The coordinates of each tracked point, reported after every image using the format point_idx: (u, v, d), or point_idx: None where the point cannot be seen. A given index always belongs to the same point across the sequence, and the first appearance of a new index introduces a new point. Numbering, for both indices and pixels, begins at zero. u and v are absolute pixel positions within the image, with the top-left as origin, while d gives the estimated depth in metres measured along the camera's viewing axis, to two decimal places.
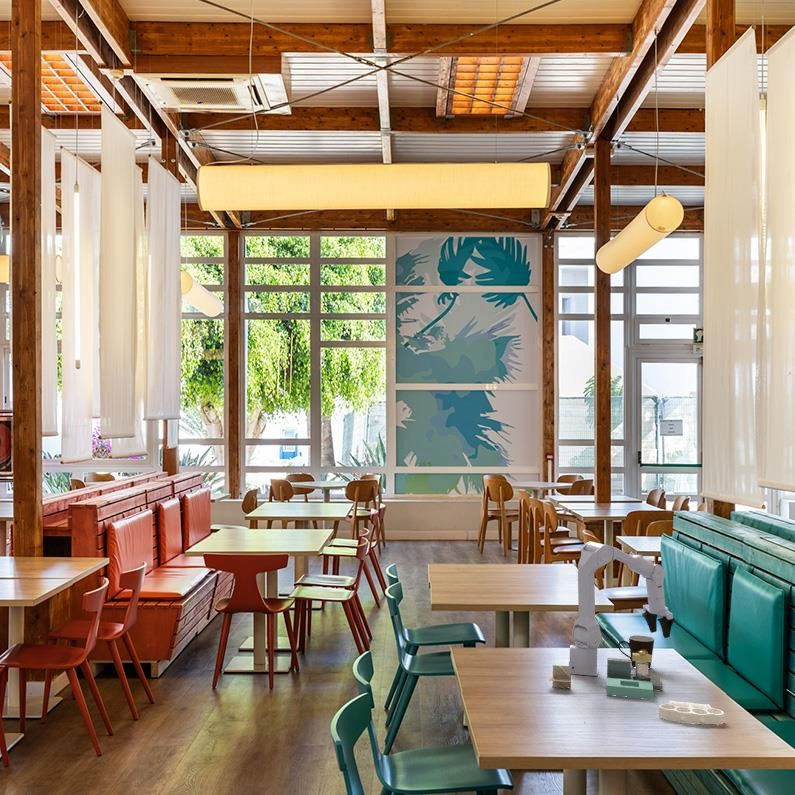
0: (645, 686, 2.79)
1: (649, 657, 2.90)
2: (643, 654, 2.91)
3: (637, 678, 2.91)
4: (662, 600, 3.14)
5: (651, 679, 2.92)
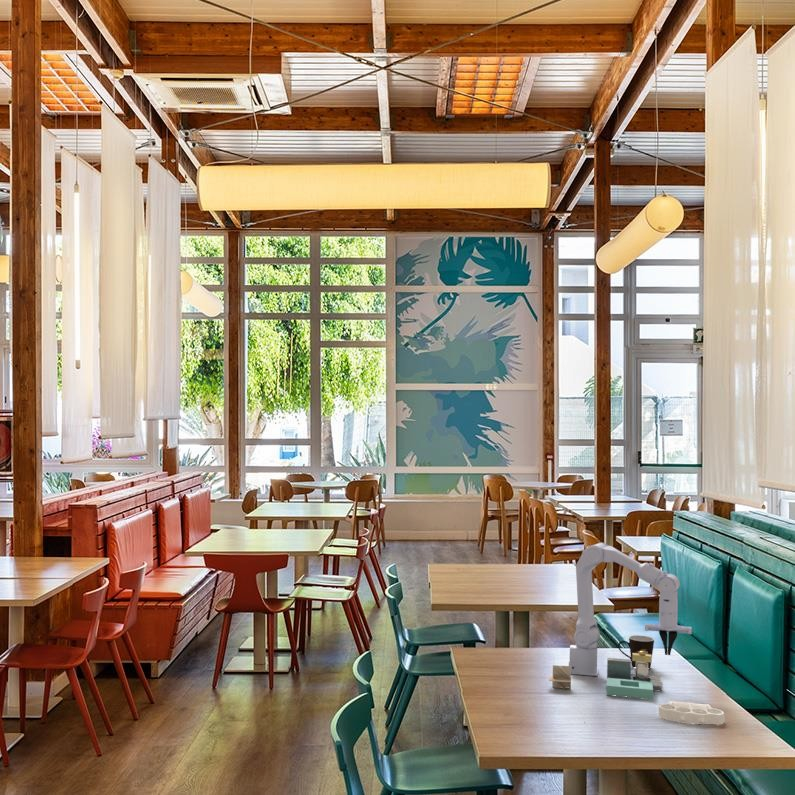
0: (645, 686, 2.79)
1: (649, 657, 2.90)
2: (643, 654, 2.91)
3: (637, 678, 2.91)
4: (659, 614, 2.90)
5: (651, 679, 2.92)
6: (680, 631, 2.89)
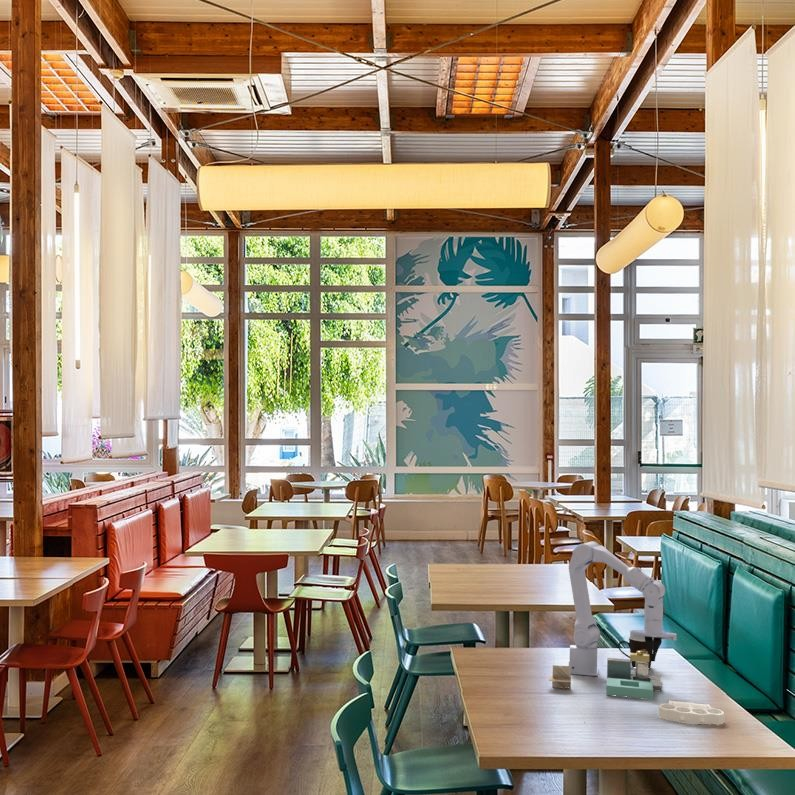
0: (645, 686, 2.79)
1: (647, 657, 2.90)
2: (641, 654, 2.91)
3: (637, 678, 2.91)
4: (644, 620, 2.91)
5: (651, 679, 2.92)
6: (665, 637, 2.90)
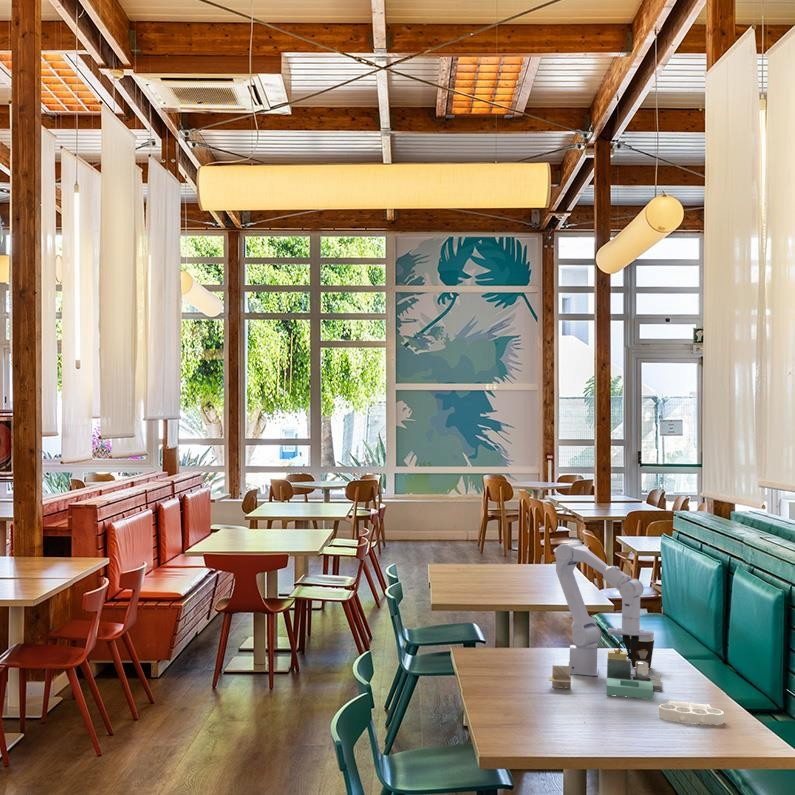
0: (645, 686, 2.79)
1: (624, 655, 2.92)
2: (618, 652, 2.93)
3: (637, 678, 2.91)
4: (622, 619, 2.93)
5: (651, 679, 2.92)
6: (642, 635, 2.92)
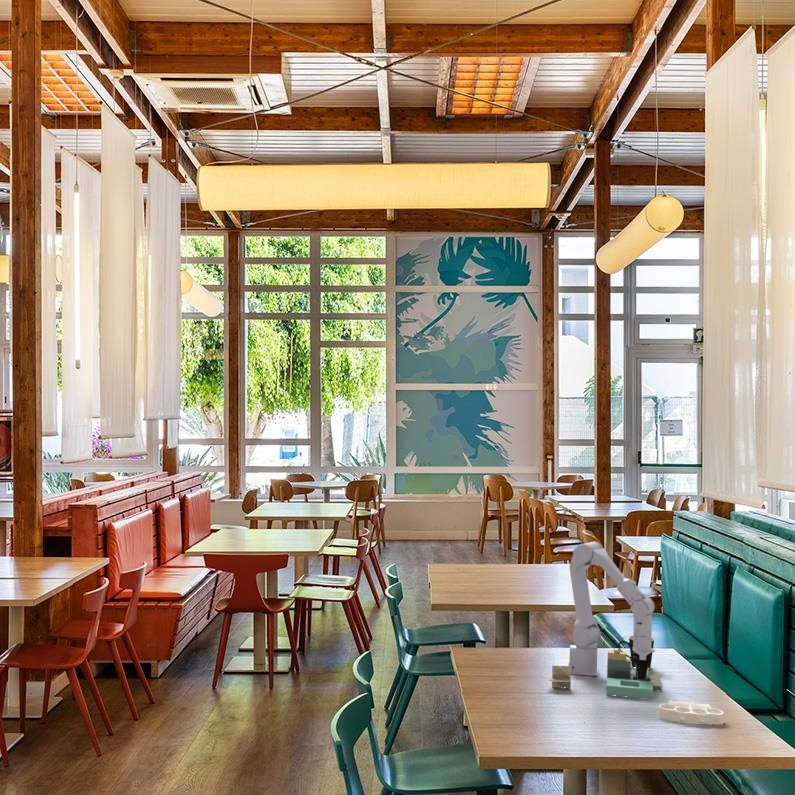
0: (645, 686, 2.79)
1: (624, 655, 2.92)
2: (618, 652, 2.93)
3: (637, 678, 2.91)
4: (644, 639, 2.89)
5: (651, 679, 2.92)
6: None
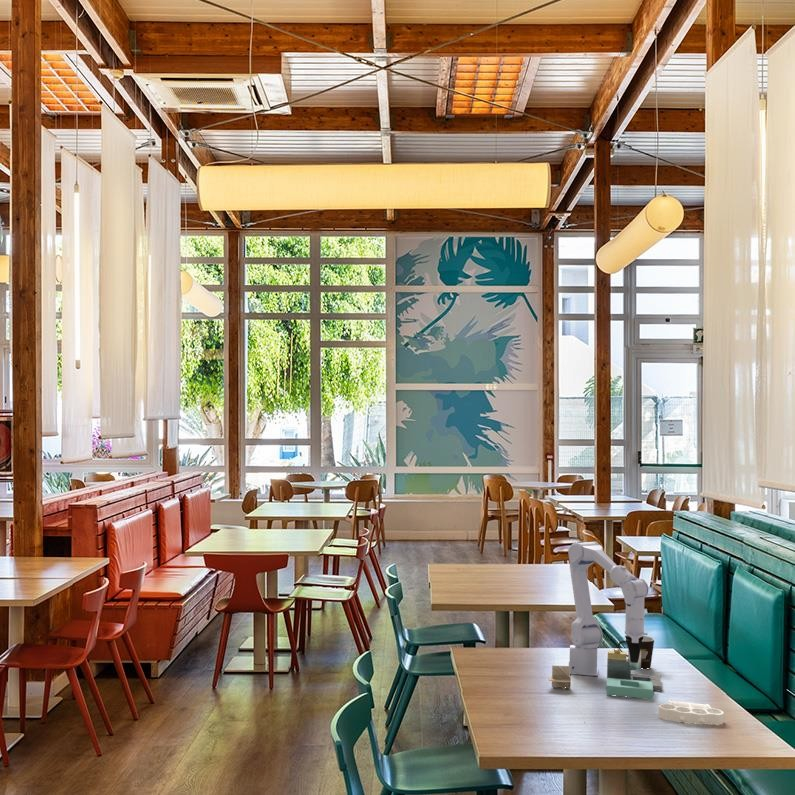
0: (645, 686, 2.79)
1: (624, 655, 2.92)
2: (618, 652, 2.93)
3: (630, 662, 2.84)
4: (636, 622, 2.82)
5: (651, 679, 2.92)
6: None
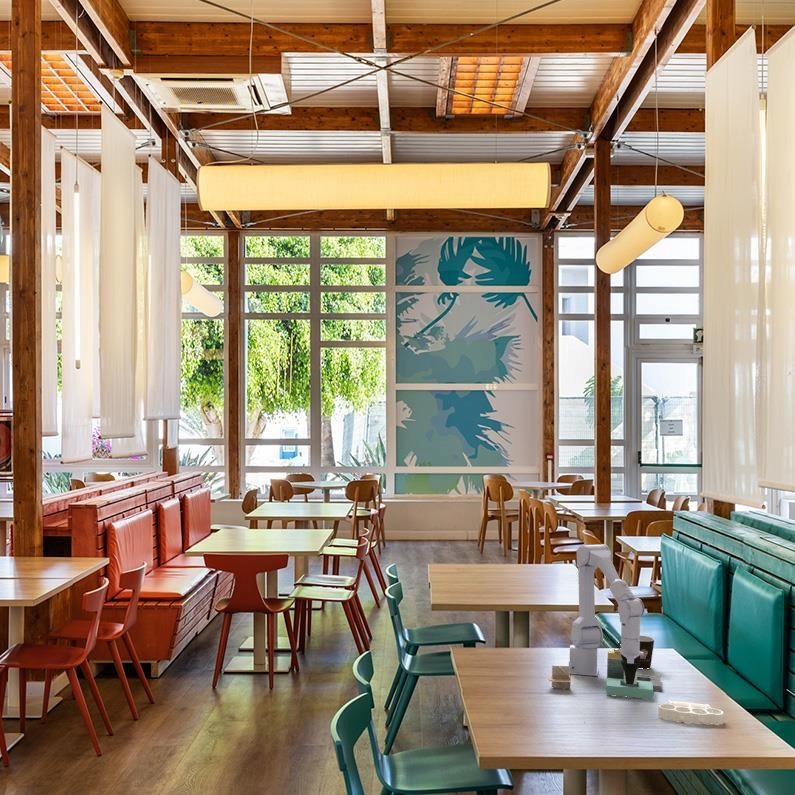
0: (645, 686, 2.79)
1: None
2: (618, 652, 2.93)
3: None
4: (632, 642, 2.79)
5: (651, 679, 2.92)
6: None
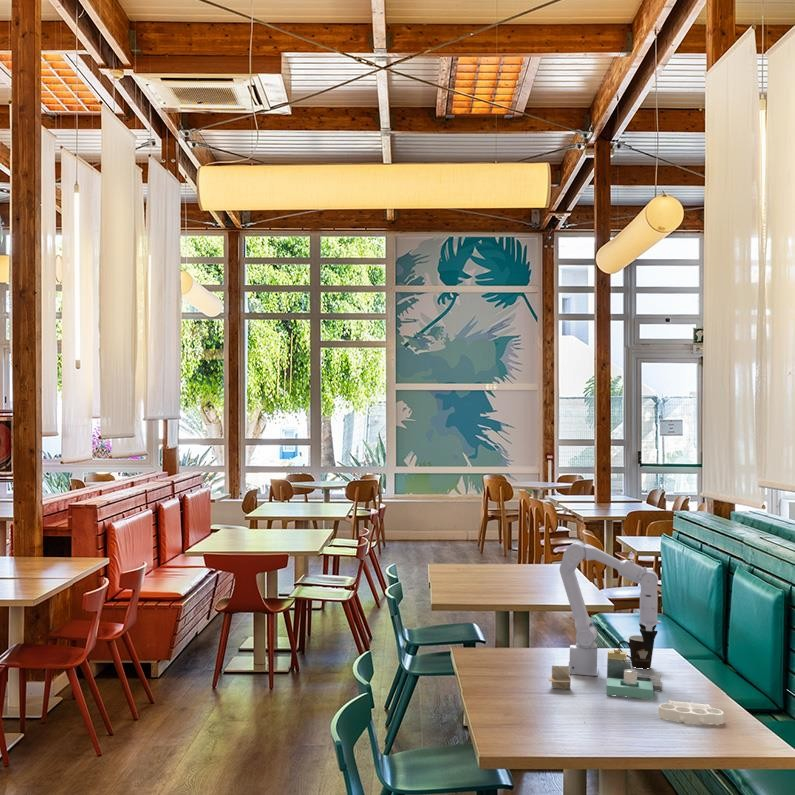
0: (645, 686, 2.79)
1: (624, 655, 2.92)
2: (618, 652, 2.93)
3: None
4: (650, 611, 2.95)
5: (651, 679, 2.92)
6: None
